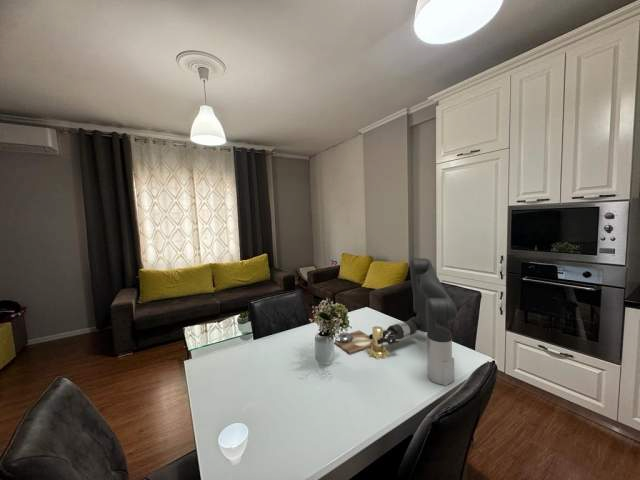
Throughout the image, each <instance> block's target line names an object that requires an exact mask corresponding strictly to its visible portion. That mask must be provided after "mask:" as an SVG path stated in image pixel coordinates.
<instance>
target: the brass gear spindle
mask: <svg viewBox="0 0 640 480" xmlns="http://www.w3.org/2000/svg"><path fill="white" fill-rule="evenodd" d="M371 329H372V333H371V334H373V346H371V348H368V349H367V354H368V355H369V357H370V358H375V359H376V360H380V359H383V360H385V359H386V358H387V356H389V350H388V349H387V347H385V346H384V343H382V344H378V343H377V340H378V339H380V338H383V330H384V328H383V327H381V326H379V325H378V326H377V325H375V326H373V327H372V328H371Z"/></svg>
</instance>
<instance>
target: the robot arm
mask: <svg viewBox="0 0 640 480" xmlns="http://www.w3.org/2000/svg"><path fill="white" fill-rule="evenodd" d="M409 272H410V281H411V288H412V297H413V298H412V299H413V300H412V301H413V304H412V305H413V312H414V313H416V314H417V315H418V316H413V317H411V318H409V319H408V320H407V321H404V322H398V323H395V324H392V325H389V326H388V327H387V329H383V338H380V339H378V340H377V343H378V344H382V343H383V344H388V345H392V344H397V343H399V342H400V340H402V339H405V338H407V337H409V336H412V335H414V334H416V333H417V331H419V332H422V333H426V360H427V362H426V364H427V366H426V370H427V375H426V376H427V378H428V379H429V381H432V382H433V383H435V384H438V385H442V386H445V387H446V386H447V385H449V384H452V383H453V382H455V358H454V357H453V334H452V332H451V330H449V329H448V328H446V327H444V326H442V325H439V324H437V323H450V322H451V323H452V322H454V321H456V320H457V317H458V310H457V307H456V304H455V302H454V301H453V299H452V298H451V297H450V295H449V294H448V293H447V291H446V290H445V288H444V287H443V285H442V283H441V281H440V279H439V277H438V276H437V274H436V272H435V269H434V266H433V264H432V262H431V260H430V259H429V258H420V257H419V258H418V257H417V258H415V257H413V258H411V260H410V262H409ZM418 276H421V277H420V278H419V281H418ZM368 335H369V339H373V334H372V333H371V334H368Z"/></svg>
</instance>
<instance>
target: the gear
mask: <svg viewBox="0 0 640 480" xmlns="http://www.w3.org/2000/svg"><path fill="white" fill-rule="evenodd" d="M339 333H340V337H341V339H340V341H338V342H339V343H340V344H341V343H350V341H351V340H353V336H352V335H350V334H349V332H345V331H343V332H339Z"/></svg>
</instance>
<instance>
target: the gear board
mask: <svg viewBox="0 0 640 480" xmlns="http://www.w3.org/2000/svg"><path fill="white" fill-rule="evenodd" d="M348 334H350V335H352V336H353V340H351V341H350V343H341V344H340V343H339V342H338V341H335V344H334V345H336V346H337V347H338V348H340V349H342V351H344V352H345V353H346V354H347V355H349V356H350V355H354V354H356V353H359V352H361V351H365V350H368V349H371V346H373V339H369V335H370V334H367V333H365V332H363V331H361V330H360V329H359V330H356V331H352V332H348Z"/></svg>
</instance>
